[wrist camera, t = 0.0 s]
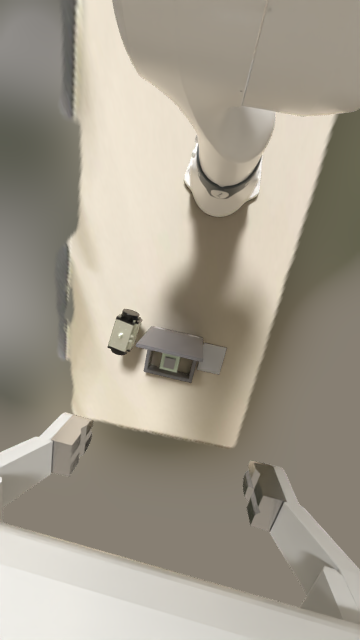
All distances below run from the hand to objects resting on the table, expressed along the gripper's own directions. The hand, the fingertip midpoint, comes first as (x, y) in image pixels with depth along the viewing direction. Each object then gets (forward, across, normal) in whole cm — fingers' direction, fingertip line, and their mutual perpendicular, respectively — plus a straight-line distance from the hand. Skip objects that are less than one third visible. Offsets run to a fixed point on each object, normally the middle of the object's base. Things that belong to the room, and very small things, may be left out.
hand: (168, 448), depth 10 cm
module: (+48, +3, +16) cm, 51 cm away
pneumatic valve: (+48, +16, +10) cm, 52 cm away
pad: (+48, -9, +15) cm, 51 cm away
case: (+48, +3, +16) cm, 51 cm away
